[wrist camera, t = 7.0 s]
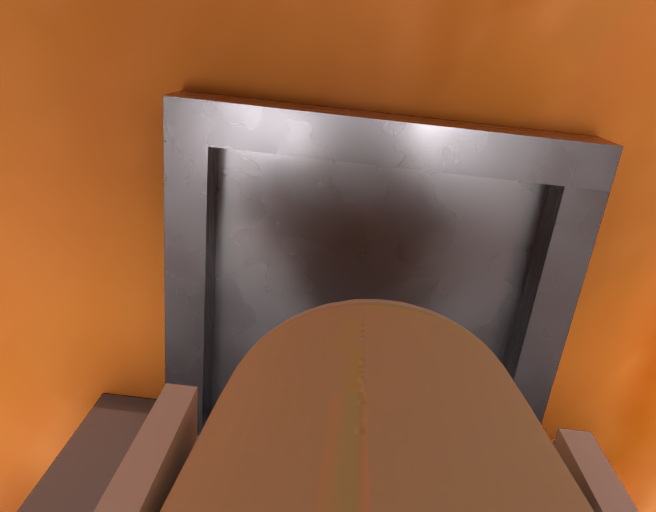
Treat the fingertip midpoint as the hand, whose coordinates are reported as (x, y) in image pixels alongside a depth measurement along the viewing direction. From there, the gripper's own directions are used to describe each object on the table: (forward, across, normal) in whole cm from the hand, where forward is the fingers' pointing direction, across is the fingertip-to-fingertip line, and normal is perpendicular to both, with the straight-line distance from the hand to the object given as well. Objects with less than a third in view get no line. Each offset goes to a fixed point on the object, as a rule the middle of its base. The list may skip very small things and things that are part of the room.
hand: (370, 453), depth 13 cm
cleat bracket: (+9, 0, 0) cm, 9 cm away
